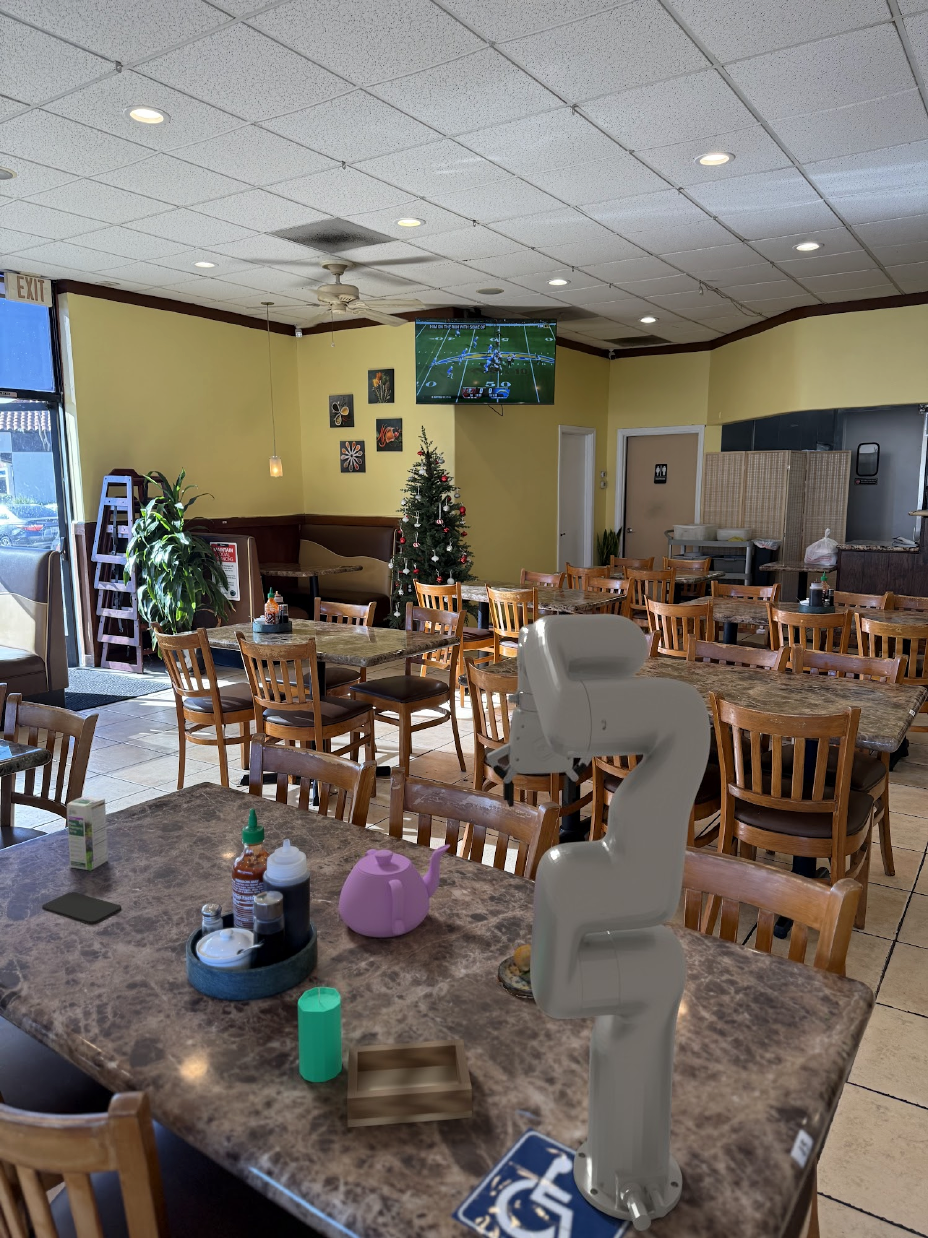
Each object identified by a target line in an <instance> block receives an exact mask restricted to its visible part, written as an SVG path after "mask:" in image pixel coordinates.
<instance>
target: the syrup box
mask: <svg viewBox="0 0 928 1238" xmlns="http://www.w3.org/2000/svg"><path fill="white" fill-rule="evenodd" d="M106 813H107V811H106V798H99V797H98V798H96V797H88V796H82V797H79V798H78V797H77V798H76V799H74V800H71V801H70V802H68V803H66V818H67V833H68V848H69V850H68V851H69V852H68V853H69V867H70V868H71V869H72V868H73V869H80V870H85V871H90V872H91V871H92V870H93V871H94V870H95V869H97V868H98V867H100V866H101V865H103V864H105V863H106V862H108V861H109V856H108V855H109V853H108V834H107V833H108V832H107V829H108V828H107V816H106V815H107V814H106Z"/></svg>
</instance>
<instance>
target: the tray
mask: <svg viewBox="0 0 928 1238" xmlns="http://www.w3.org/2000/svg"><path fill="white" fill-rule="evenodd" d="M467 1059H468V1058H467V1055H466V1048H465V1043H464V1039H463V1038H461V1039H448V1040H447V1039H446V1040H430V1041H415V1042H407V1043H406V1042H403V1043H402V1042H399V1043H388V1044H373V1045H371V1044H370V1045H358V1046H348V1065H347V1066H348V1067H347V1094H346V1095H347V1097H346V1099H347V1100H346V1102H347V1103H346V1104H347V1109H346V1110H347V1128H357V1127H367V1126H379V1125H380V1126H381V1125H395V1124H404V1123H405V1124H407V1123H419V1122H432V1121H444V1120H447V1121H448V1120H457V1119H458V1120H459V1119H470V1118H473V1110H472V1109H473V1108H472V1107H473V1106H472V1105H473V1102H472V1101H473V1088H472V1083H471V1077H470V1071H469V1066H468V1061H467Z"/></svg>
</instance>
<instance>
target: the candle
mask: <svg viewBox="0 0 928 1238" xmlns="http://www.w3.org/2000/svg"><path fill="white" fill-rule="evenodd" d="M341 998H342V996H341V994H340V993H339V991H338V990H337V989H336V988H334V987H327V986H320V987H319V986H318V987H317V986H316V987H312V988H311V989H308V990H305V991H304V992H303V994H302V995H301V996H300V998H298V1001H297V1019H298V1020H297V1022H298V1023H297V1024H298V1025H297V1027H298V1031H297V1032H298V1057H299V1058H298V1060H299V1061H298V1063H299V1069H298V1070H299V1075H301V1076H302V1078H303V1079H304V1080H306V1081H309V1082H312V1083H320V1082H323V1083H325V1082H327V1081H330V1080H332V1079H334V1078H336V1077H337V1076H338V1075H339V1074H341V1072H342V1069H343V1057H342V1055H343V1052H342V1051H343V1048H342V1047H343V1046H342V1001H341Z"/></svg>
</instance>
